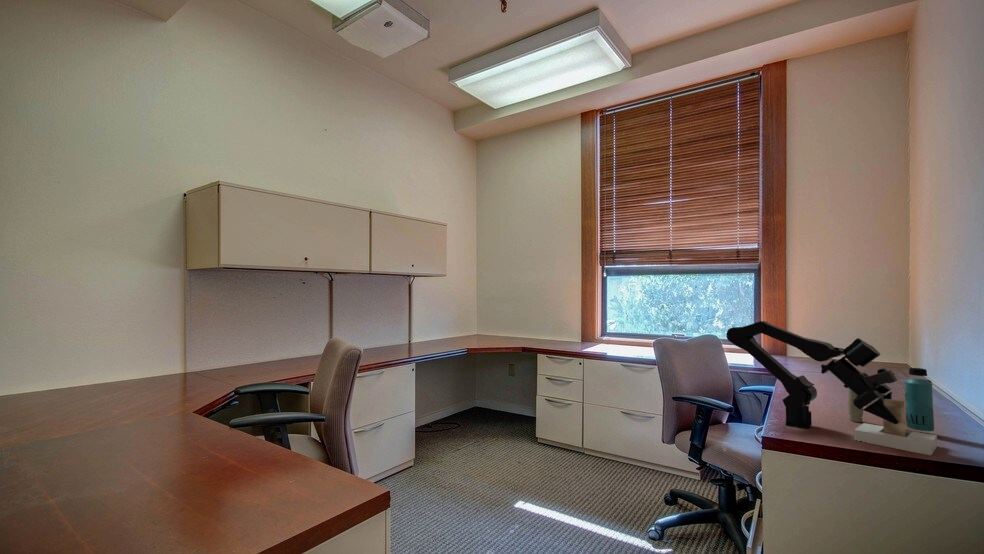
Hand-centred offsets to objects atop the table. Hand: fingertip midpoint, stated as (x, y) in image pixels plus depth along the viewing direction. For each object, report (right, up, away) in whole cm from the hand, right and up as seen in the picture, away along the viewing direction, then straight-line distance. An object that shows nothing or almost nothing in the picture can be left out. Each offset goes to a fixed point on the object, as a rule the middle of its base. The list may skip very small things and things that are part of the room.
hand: (900, 420), depth 126 cm
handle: (+7, -8, +24) cm, 27 cm away
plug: (-1, -7, +1) cm, 7 cm away
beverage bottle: (+16, -8, +11) cm, 21 cm away
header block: (-1, -7, +1) cm, 7 cm away
